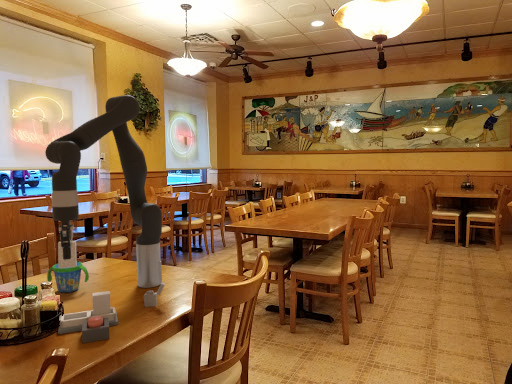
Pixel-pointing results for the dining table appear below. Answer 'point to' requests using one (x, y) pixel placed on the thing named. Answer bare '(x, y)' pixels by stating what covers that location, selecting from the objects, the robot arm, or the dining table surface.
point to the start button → (95, 321)
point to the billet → (68, 262)
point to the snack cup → (67, 277)
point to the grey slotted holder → (89, 314)
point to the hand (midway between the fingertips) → (67, 257)
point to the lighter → (152, 296)
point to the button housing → (95, 332)
